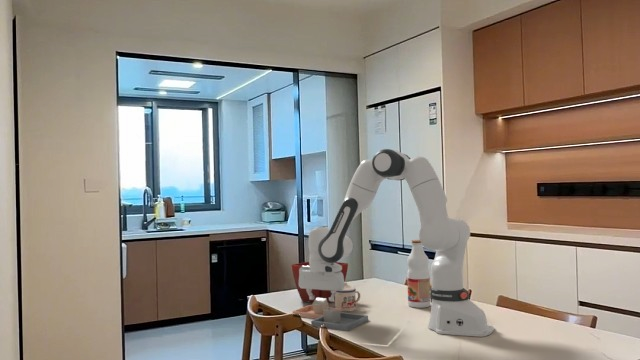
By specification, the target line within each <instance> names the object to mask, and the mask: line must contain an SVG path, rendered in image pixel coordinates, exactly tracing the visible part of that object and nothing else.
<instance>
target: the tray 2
mask: <svg viewBox="0 0 640 360" xmlns="http://www.w3.org/2000/svg"><path fill="white" fill-rule="evenodd" d="M340 319H341V322H338V323H327V322H324V316H322V317H319V318H317V319H313V320H311V327H317V328H322V327H321V325H323V324H324V325H325V326H326V327H327V328H326V329H329V330H330V329H331V330H338V331H345V332H348V331H350V330H353V329H354V328H356V327H359V326H360V325H362V324H364V323H366V322H368V321H369V315H366V314H358V313H357V314H356V313H348V312H343V311H342V312H340Z"/></svg>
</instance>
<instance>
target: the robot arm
mask: <svg viewBox="0 0 640 360" xmlns="http://www.w3.org/2000/svg"><path fill="white" fill-rule="evenodd" d="M384 180H393V181H403V180H405V181H406V183H407V185H408V187H409V190H410V191H411V194H412V197H413V200H414V203H415V205H416V207H417V210H418V214H419V220H420V221H419V222H420V230H419V233H418V234H419V235H418V240H420V242H421V244H422V245H423V248H425V249H427V250H429V251H433V252H435V255H434V259H433V261H432V263H431V266H430V306H431V307H430V316H429V321H428V324H427V326H428V329H430V330H432V331H434V332H436V333H437V334H440V335H442V334H443V335H449V336H451V335H452V336H453V335H454V336H463V337H464V336H466V337H477V338H478V337H486V336H489V335H491V334H492V333H493V332H494V331H495V329H494V326H493V324H490V323H488V320H487V316H486V313H485V311H484V310H483V309H482V308H481V307H479V306H478V305H477V304H475V302H473V301H472V300H471V299H470V290H467V289H466V288H464V277H463V276H464V274H463V273H464V272H463V271H464V270H463V269H464V268H463V266H464V259H465V254H466V247H467V243H468V241H469V239H470V237H471V229H470V226H469V225H468V223H467V222H466V221H465V220H463V219H460V218H457V217H449V215H448V209H447V202H448V198H447V195H446V192H445V191H444V188H443V186H442V184H441V180H440V179H439V177H438V175H437V172H436V171H435V169H434V167H433V166H432V164H431V163H430V162H429V160H428V159H427V158H426V157H425V156H415V157H412V158H411V157H409V155H407V154H405V153H402V152H401V151H398V150H395V149H389V148H383V149H381V150H378V151H377V152H376V153H375V154H374V155H373V157H372V159H364V160H362V161H361V162H360V164H359V165H358V167H357V168H356V170H355V172H354V174H353V176H352V178H351V180H350V183H349V184H348V187H347V190H346V193H345V196H344V199H343V201H342V203H341V206H340V208H339V210H338V212H337V214H336V216H335V219H334V221H333V222H332V225H331V228H329V227H328V226H326V225H324V226H323V225H322V226H318V227H314V228H312V229H310V231H309V232H308V251H309V257H308V262H309V266H302V267H300V269H299V287H300V288H303V289H306V291H307V293H308V295H309V300H314V299H315V298H314V295H313V294H312V292H311V291H312V289H317V290H331V293H332V295H331V297H329V303H331V302H335V301H334V296H335V294H336V291H341V290H343V289H344V276H343V273H342V272H341V270H342V266H341V265H339V264H336V263H335V262H339V261H340V260H343V259H344V258H347V257H349V256H350V255H351V253H353V250H354V243H353V239H352V238H351V237H350V236H348V235H347V233H348V232H349V229H350V227H351V225H352V223H353V221H354V219H356V217H357V216H358V215H359V214H361V213H362V212H363V211H364V210H365V211H366V209H368V208H369V207H370V206H371V204H372V203H373V201H374V200H375V197H376V195H377V193H378V190H379V188H380V185H381V183H382V182H383V181H384Z"/></svg>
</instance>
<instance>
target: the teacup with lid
mask: <svg viewBox="0 0 640 360" xmlns="http://www.w3.org/2000/svg"><path fill="white" fill-rule="evenodd" d="M356 294H357V298H356ZM360 299H361V292H359V291H358V290H357V289H356V287H355V286H352V285H350V284H349V283H348V282H347V281H345V282H344V289H343V290H341V291H336V294H335V301H334V306H335V307H334V308H340V309H342V312H353V311H356V309H357V307H356V306H357V303H358V302H360Z"/></svg>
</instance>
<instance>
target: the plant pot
mask: <svg viewBox="0 0 640 360" xmlns="http://www.w3.org/2000/svg"><path fill="white" fill-rule="evenodd" d="M335 263H336V264H339V265H341V266H342V270H341V272H342V273H343V276H344V282H346V278H347V275H348V274H347V273H348V268H349V267H348V266H349V263H347V262H341V261H337V262H335ZM302 266H309V261H306V262H300V263H293V264H291V271H292V275H293V278H294V279H293V280H294V283H295V286H296V289H297V293H298V295H299V297H300V300H301V301H302V302H307V303H311V304H313V302H314V301H315V299H316V298H326V299H327V303H328V304H329V303H330V302H329V297H331V295H332V293H331V290H317V289H312V291H311V292H312V294H313V295H314V298H315V299H314V300H309V295H308V293H307V291H306V289H303V288H300V287H299V269H300V267H302ZM333 302H335V296H334V301H333Z"/></svg>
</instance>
